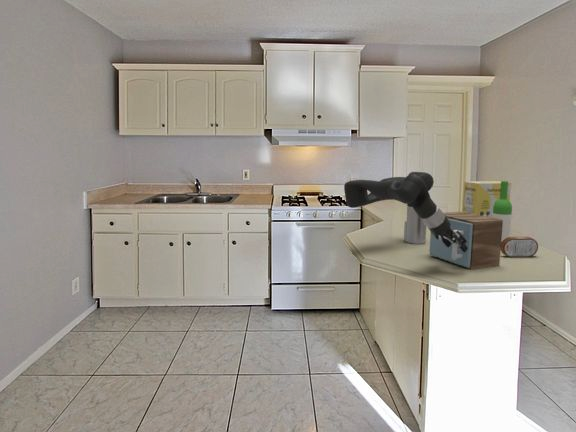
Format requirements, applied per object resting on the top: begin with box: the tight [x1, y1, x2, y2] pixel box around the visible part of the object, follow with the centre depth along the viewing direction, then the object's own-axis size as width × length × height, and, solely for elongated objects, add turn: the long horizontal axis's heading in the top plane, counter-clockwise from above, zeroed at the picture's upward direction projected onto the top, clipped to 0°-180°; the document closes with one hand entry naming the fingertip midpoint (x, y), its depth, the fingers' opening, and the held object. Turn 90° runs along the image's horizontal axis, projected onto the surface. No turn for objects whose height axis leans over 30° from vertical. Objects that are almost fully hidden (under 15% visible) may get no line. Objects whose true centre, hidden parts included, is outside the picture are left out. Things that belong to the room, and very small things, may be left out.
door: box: [429, 219, 473, 268], centre depth 177 cm, size 21×6×16 cm, turn 23°
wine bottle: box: [492, 180, 513, 243], centre depth 205 cm, size 8×8×30 cm
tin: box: [500, 236, 539, 258], centre depth 189 cm, size 15×3×8 cm, turn 92°
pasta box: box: [461, 180, 512, 218], centre depth 222 cm, size 18×10×28 cm, turn 103°
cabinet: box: [431, 211, 503, 270], centre depth 181 cm, size 22×14×18 cm, turn 23°
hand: (457, 248), depth 171 cm, fingers open, 8 cm apart
